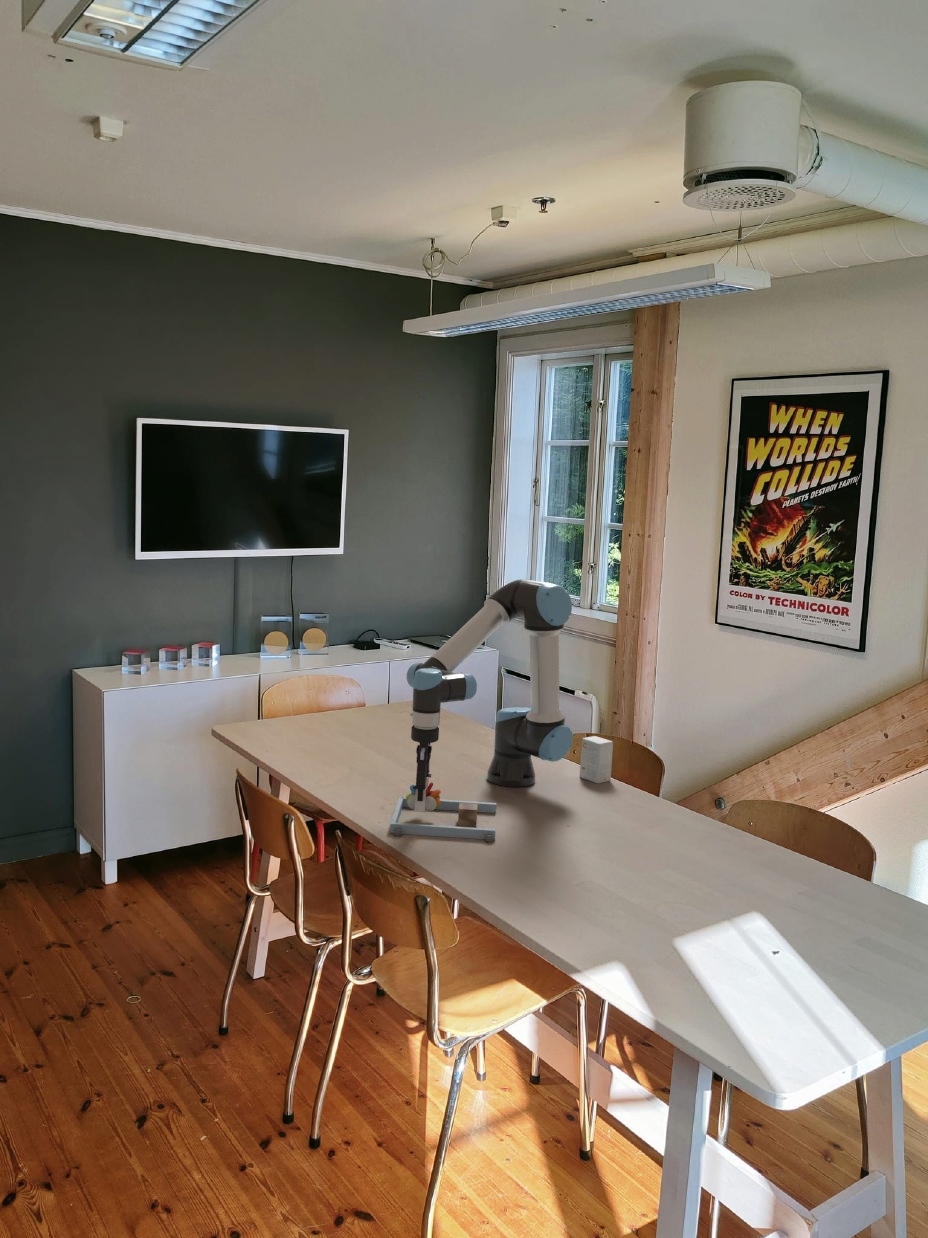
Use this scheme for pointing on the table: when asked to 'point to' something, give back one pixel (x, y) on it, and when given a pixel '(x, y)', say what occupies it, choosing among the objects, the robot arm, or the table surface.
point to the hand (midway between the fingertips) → (421, 806)
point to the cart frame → (443, 830)
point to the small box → (596, 759)
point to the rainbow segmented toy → (430, 800)
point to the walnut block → (467, 815)
